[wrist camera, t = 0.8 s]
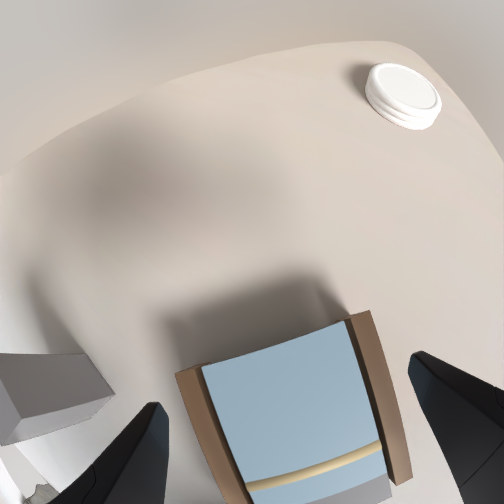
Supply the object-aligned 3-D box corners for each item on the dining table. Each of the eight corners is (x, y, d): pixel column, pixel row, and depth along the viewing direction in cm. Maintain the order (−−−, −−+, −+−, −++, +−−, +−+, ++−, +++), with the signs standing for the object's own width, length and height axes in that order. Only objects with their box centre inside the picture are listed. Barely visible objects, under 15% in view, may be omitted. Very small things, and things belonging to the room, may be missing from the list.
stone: (115, 394, 22) (21, 418, 10) (89, 419, 21) (1, 446, 9) (86, 353, 23) (-11, 352, 11) (62, 380, 23) (-29, 387, 11)
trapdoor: (271, 517, 16) (270, 537, 13) (210, 362, 21) (200, 367, 18) (380, 482, 16) (393, 497, 13) (334, 322, 21) (344, 320, 18)
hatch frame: (252, 514, 18) (248, 543, 13) (193, 366, 23) (174, 373, 18) (393, 467, 18) (414, 488, 13) (350, 315, 23) (369, 310, 18)
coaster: (354, 76, 31) (358, 57, 28) (414, 82, 31) (421, 65, 27) (379, 130, 28) (388, 110, 25) (443, 134, 28) (455, 117, 25)
